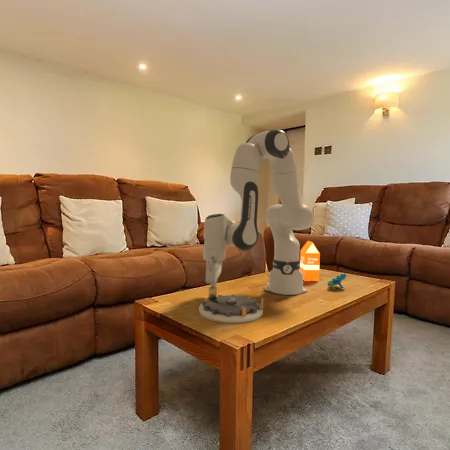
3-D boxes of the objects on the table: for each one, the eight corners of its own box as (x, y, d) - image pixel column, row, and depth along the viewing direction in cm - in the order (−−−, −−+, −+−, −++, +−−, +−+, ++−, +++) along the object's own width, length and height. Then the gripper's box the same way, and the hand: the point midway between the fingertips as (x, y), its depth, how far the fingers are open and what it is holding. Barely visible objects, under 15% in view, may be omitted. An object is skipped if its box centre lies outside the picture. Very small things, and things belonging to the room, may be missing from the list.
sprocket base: (204, 300, 132) (204, 286, 132) (262, 303, 130) (263, 289, 130) (193, 321, 109) (193, 304, 109) (263, 325, 107) (264, 308, 107)
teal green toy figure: (337, 281, 163) (348, 270, 155) (345, 291, 160) (356, 280, 152) (321, 286, 157) (331, 275, 150) (328, 297, 154) (339, 286, 147)
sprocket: (207, 297, 131) (207, 283, 131) (259, 299, 129) (260, 285, 128) (197, 314, 110) (197, 298, 110) (259, 318, 108) (260, 301, 108)
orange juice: (313, 277, 177) (315, 240, 176) (319, 281, 168) (320, 242, 167) (299, 277, 177) (300, 240, 175) (303, 281, 168) (305, 242, 167)
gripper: (219, 259, 120) (218, 297, 121) (224, 251, 141) (224, 283, 142) (201, 259, 121) (201, 296, 122) (210, 250, 141) (209, 282, 142)
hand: (213, 289), depth 132 cm, fingers closed
